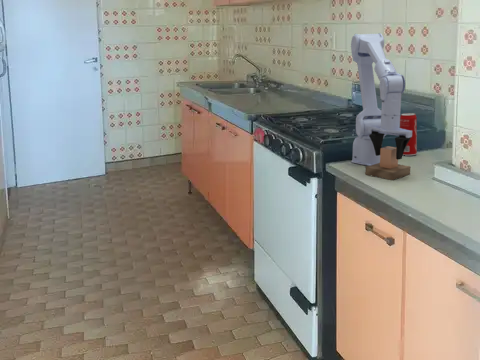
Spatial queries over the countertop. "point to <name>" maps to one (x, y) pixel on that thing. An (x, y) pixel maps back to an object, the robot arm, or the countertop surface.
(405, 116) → the beverage can
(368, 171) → the walnut base
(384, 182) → the countertop surface
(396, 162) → the terracotta block
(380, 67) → the robot arm
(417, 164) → the countertop surface
